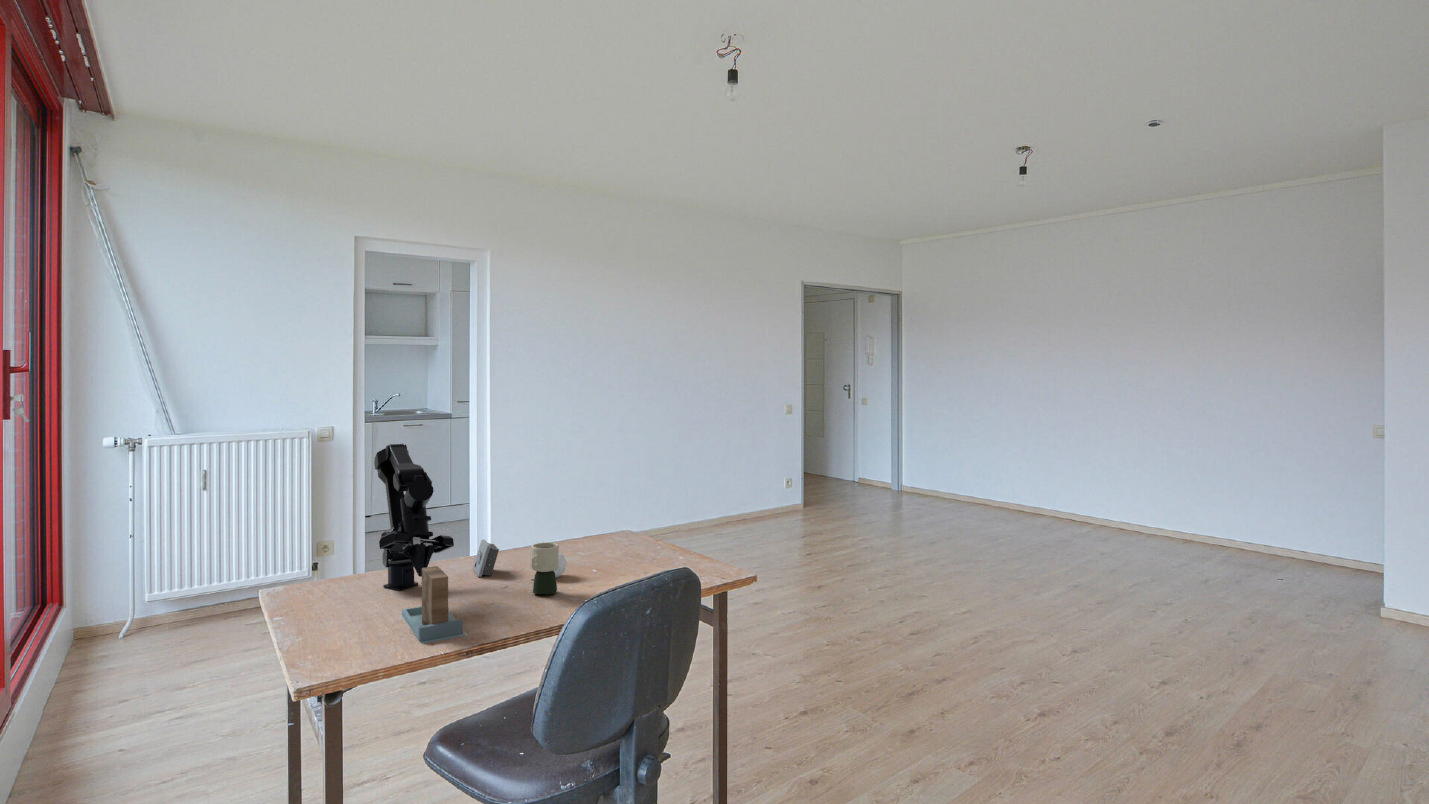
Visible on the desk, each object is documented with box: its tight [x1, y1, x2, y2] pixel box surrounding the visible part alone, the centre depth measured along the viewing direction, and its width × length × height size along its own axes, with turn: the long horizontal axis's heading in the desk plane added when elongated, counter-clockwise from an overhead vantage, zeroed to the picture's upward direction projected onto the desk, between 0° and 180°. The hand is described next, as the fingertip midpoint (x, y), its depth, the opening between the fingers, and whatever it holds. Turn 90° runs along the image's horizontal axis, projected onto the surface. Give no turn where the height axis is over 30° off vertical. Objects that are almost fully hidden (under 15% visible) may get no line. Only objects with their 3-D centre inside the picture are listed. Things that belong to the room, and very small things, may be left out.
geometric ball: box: [553, 552, 568, 579], centre depth 209 cm, size 8×8×8 cm
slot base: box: [401, 605, 464, 645], centre depth 167 cm, size 21×9×4 cm, turn 33°
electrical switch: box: [472, 538, 500, 578], centre depth 212 cm, size 9×5×9 cm, turn 28°
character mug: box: [530, 541, 560, 596], centre depth 193 cm, size 11×7×13 cm, turn 157°
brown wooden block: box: [421, 565, 449, 625], centre depth 165 cm, size 10×4×13 cm, turn 33°
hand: (421, 576), depth 177 cm, fingers closed
